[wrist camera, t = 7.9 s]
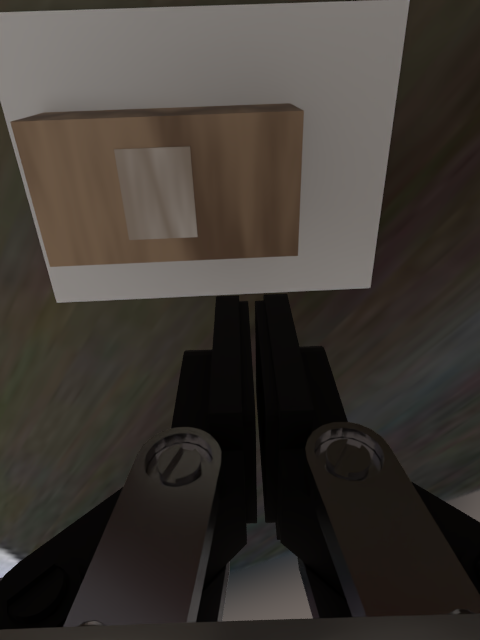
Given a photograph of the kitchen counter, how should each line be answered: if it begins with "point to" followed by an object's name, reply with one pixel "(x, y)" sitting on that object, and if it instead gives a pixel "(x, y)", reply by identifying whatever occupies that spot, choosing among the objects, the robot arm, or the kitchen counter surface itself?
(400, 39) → the grey mat
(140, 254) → the walnut block
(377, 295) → the kitchen counter surface
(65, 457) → the kitchen counter surface
